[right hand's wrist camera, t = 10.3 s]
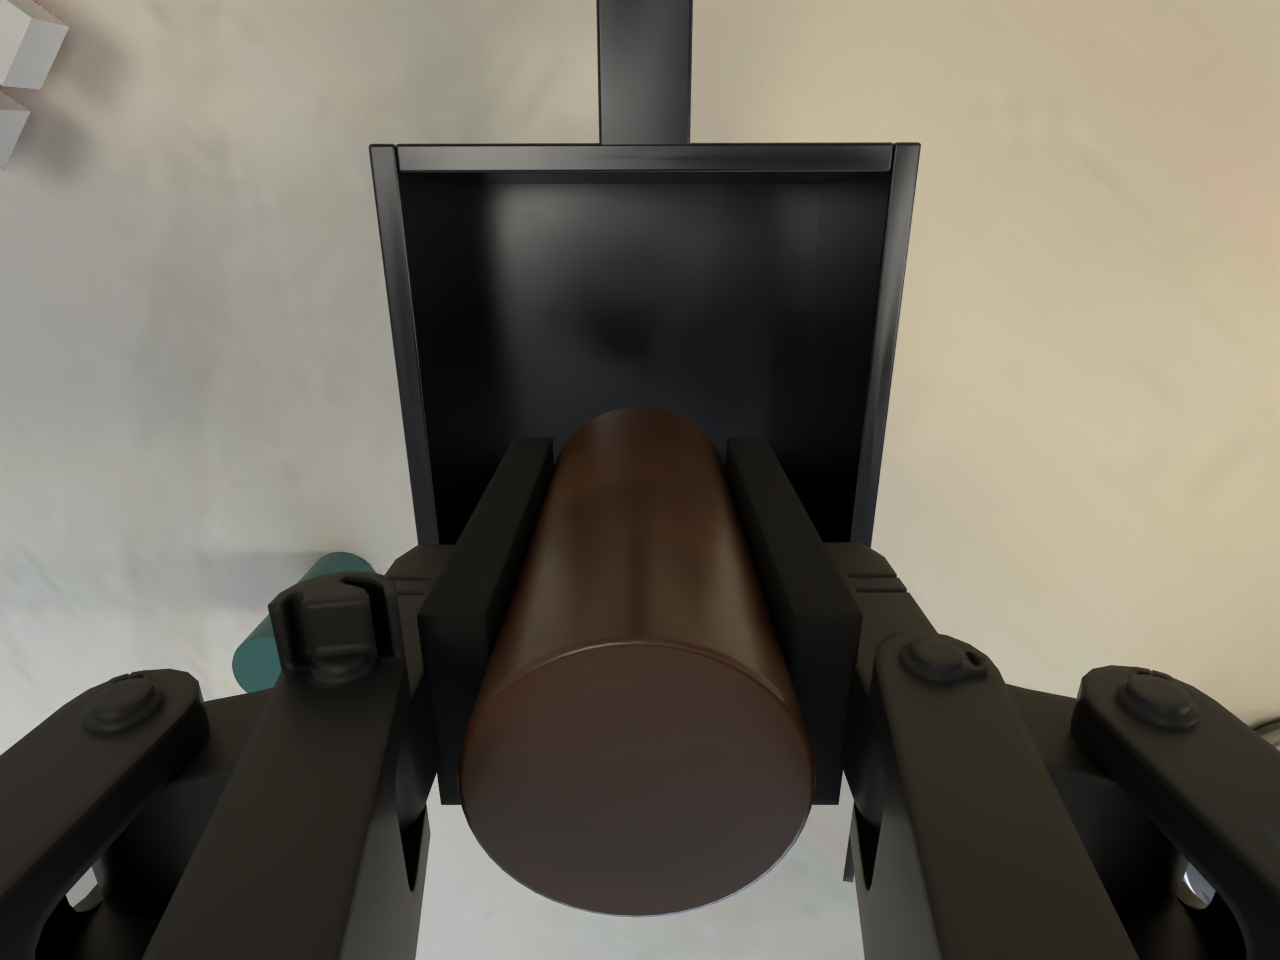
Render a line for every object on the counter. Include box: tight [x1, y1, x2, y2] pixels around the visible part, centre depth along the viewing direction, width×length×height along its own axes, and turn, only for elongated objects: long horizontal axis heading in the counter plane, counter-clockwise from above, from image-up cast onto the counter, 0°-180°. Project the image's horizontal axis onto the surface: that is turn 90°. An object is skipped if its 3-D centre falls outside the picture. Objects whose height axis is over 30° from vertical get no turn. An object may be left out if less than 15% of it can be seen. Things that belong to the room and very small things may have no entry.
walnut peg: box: [457, 407, 816, 917], centre depth 11 cm, size 4×4×8 cm
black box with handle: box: [369, 0, 921, 548], centre depth 18 cm, size 12×28×7 cm, turn 0°
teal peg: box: [232, 553, 375, 693], centre depth 35 cm, size 4×4×8 cm
